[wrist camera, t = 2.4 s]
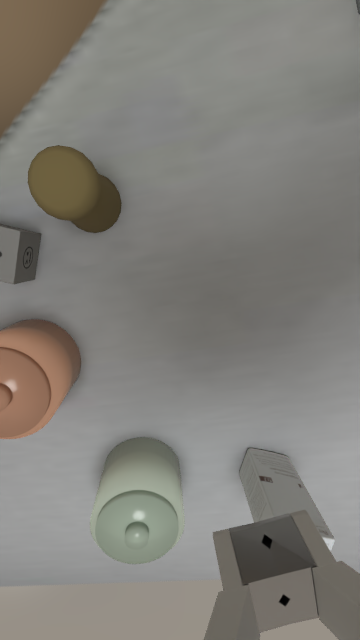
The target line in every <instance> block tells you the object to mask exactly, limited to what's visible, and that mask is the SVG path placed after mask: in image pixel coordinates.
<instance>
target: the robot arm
mask: <svg viewBox="0 0 360 640" xmlns="http://www.w3.org/2000/svg"><path fill="white" fill-rule="evenodd" d="M229 532H230V533H229ZM213 539H214V544H215V550H216V555H217V560H218V565H219V570H220V575H221V580H222V586H223V591H221V592H219V593H218V596H217V599H216V602H215V606H214V609H213V612H212V615H211V618H210V621H209V625H208V628H207V631H206V634H205V637H204V640H260V633H261V632H264V631H267V630H271V629H274V628H277V627H281V626H284V625H288V624H292V623H296V622H301V621H305V620H310V619H314V618H319V619H320V620H321V622H322V623H323V624H324V625H325V626H326V627H327V628H328V629H329V630H330V631H331V632H332V633H333V634H334V635H335V636H336V637H337V638H338V639H339V640H360V574H359V573H358V572H357V571H355V570H354V569H352V568H351V567H349V566H348V565H347V564H345V563H344V562H342V561H338V562H336V560H335V559H334V557H333V555H332V553H331V552H330V550H329V548H328V546H327V545H326V543H325V541H324V539H323V538H322V536H321V534H320V532H319V531H318V529H317V527H316V526H315V524H314V522H313V520H312V519H311V517H310V515H309V513H308V512H307V511H306V510H301V511H297V512H293V513H290V514H284V515H280V516H276V517H273V518H269V519H265V520H261V521H259V522H256V523H252V524H247V525H242V526H238V527H233V528H229V530H228V529H225V530H220V531H216V532H213Z"/></svg>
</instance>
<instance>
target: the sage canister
mask: <svg viewBox="0 0 360 640" xmlns="http://www.w3.org/2000/svg"><path fill="white" fill-rule="evenodd" d="M184 522H185V520H184V509H183V498H182V487H181V476H180V465H179V461H178V458H177V456H176V454H175V453H174V451H173V450H172V449H171V448H170V447H169V446H167V445H166V444H165V443H163V442H161V441H159V440H156V439H152V438H146V437H140V438H133V439H129V440H126V441H124V442H122V443H120V444H119V445H117V446H116V447H115V448H114V449H113V450H112V451H111V452H110V454H109V455H108V457H107V459H106V461H105V465H104V468H103V472H102V476H101V480H100V484H99V488H98V491H97V495H96V499H95V503H94V507H93V511H92V514H91V519H90V530H91V534H92V537H93V539H94V541H95V542H96V544H97V545H98V546H99V547H100V548H101V549H102V550H103V551H104V552H105V553H106V554H107V555H108V556H109V557H111V558H113V559H115V560H117V561H120V562H123V563H128V564H142V563H147V562H151V561H154V560H156V559H158V558H160V557H162V556H163V555H165V554H166V553H167V552H168V551H169V550H170V549H172V548H173V547H174V546H175V545H176V543H177V542H178V541H179V539H180V537H181V535H182V533H183V529H184Z"/></svg>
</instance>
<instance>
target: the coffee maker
mask: <svg viewBox="0 0 360 640" xmlns="http://www.w3.org/2000/svg"><path fill="white" fill-rule="evenodd" d="M356 2H357V7H358V12H359V14H360V0H356Z"/></svg>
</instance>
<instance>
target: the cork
mask: <svg viewBox="0 0 360 640" xmlns="http://www.w3.org/2000/svg"><path fill="white" fill-rule="evenodd" d="M28 185H29V188H30V192H31V195H32V196H33V198H34V199H35V201H36V203H37V204H38V206H39V207H41V208H42V209H43V210H44V211H45V212H46V213H47V214H49V215H51V216H53V217H55V218H57V219H62V220H69V221H71V222H72V223H73V224H75V225H76V226H77V227H78V228H80V229H82V230H84V231H86V232H93V233H97V232H102V231H105V230H107V229H109V228H110V227H112V226H113V224H114V223H115V222H116V221H117V219H118V217H119V215H120V212H121V199H120V194H119V192H118V190H117V188H116V187H115V185H114V184H113V183H112V182H111V181H110V180H109V179H108V178H106V177H104V176H102V175H100V174H98V173H97V171H96V169H95V167H94V165H93V164H92V162H91V161H90V160H89V159H88V158H87V157H86V156H85V155H84V154H83V153H81V152H79V151H77V150H75V149H73V148H71V147H65V146H59V145H58V146H52V147H47V148H46V149H44V150H42V151H41V152H39V153H38V154H37V155H36V157H35V158H34V159H33V160H32V162H31V165H30V168H29V171H28Z"/></svg>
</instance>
